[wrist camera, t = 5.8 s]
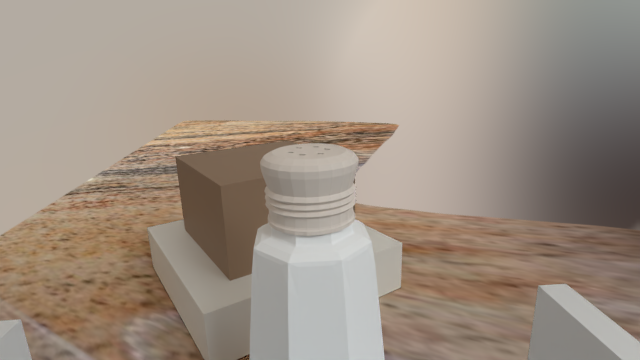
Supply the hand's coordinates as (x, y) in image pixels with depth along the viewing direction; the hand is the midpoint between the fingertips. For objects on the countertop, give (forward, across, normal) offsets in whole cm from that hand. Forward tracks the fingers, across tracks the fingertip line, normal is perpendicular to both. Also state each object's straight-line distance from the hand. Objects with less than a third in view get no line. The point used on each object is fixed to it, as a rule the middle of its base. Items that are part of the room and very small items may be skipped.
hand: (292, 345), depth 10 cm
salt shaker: (+2, +1, -7) cm, 7 cm away
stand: (+15, -2, -6) cm, 16 cm away
